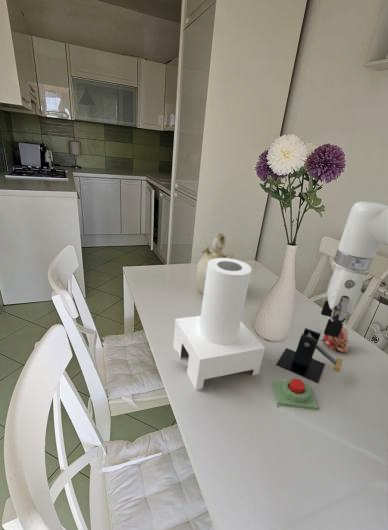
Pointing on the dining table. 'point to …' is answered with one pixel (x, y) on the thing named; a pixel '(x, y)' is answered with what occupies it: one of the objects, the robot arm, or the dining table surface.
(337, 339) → the flower
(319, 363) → the bracket
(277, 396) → the button block
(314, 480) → the dining table surface
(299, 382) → the button
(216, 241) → the jug
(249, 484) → the dining table surface
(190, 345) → the paper towel holder
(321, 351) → the lever
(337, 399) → the dining table surface
